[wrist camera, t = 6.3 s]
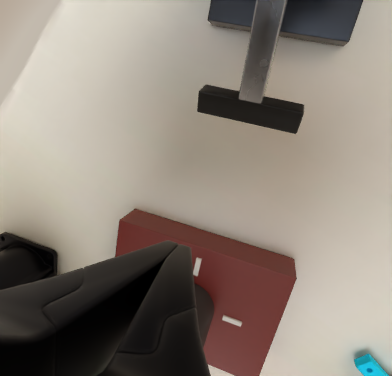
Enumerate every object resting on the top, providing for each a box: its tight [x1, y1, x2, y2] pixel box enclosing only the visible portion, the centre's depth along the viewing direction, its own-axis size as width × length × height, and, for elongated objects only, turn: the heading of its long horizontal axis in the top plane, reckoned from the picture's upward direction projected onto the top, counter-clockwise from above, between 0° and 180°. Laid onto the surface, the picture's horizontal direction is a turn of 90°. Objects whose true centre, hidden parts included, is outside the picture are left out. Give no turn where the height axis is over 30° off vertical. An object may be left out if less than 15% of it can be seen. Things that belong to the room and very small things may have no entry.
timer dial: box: [194, 283, 214, 348], centre depth 18 cm, size 4×4×5 cm
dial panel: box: [115, 209, 297, 376], centre depth 22 cm, size 13×10×3 cm
